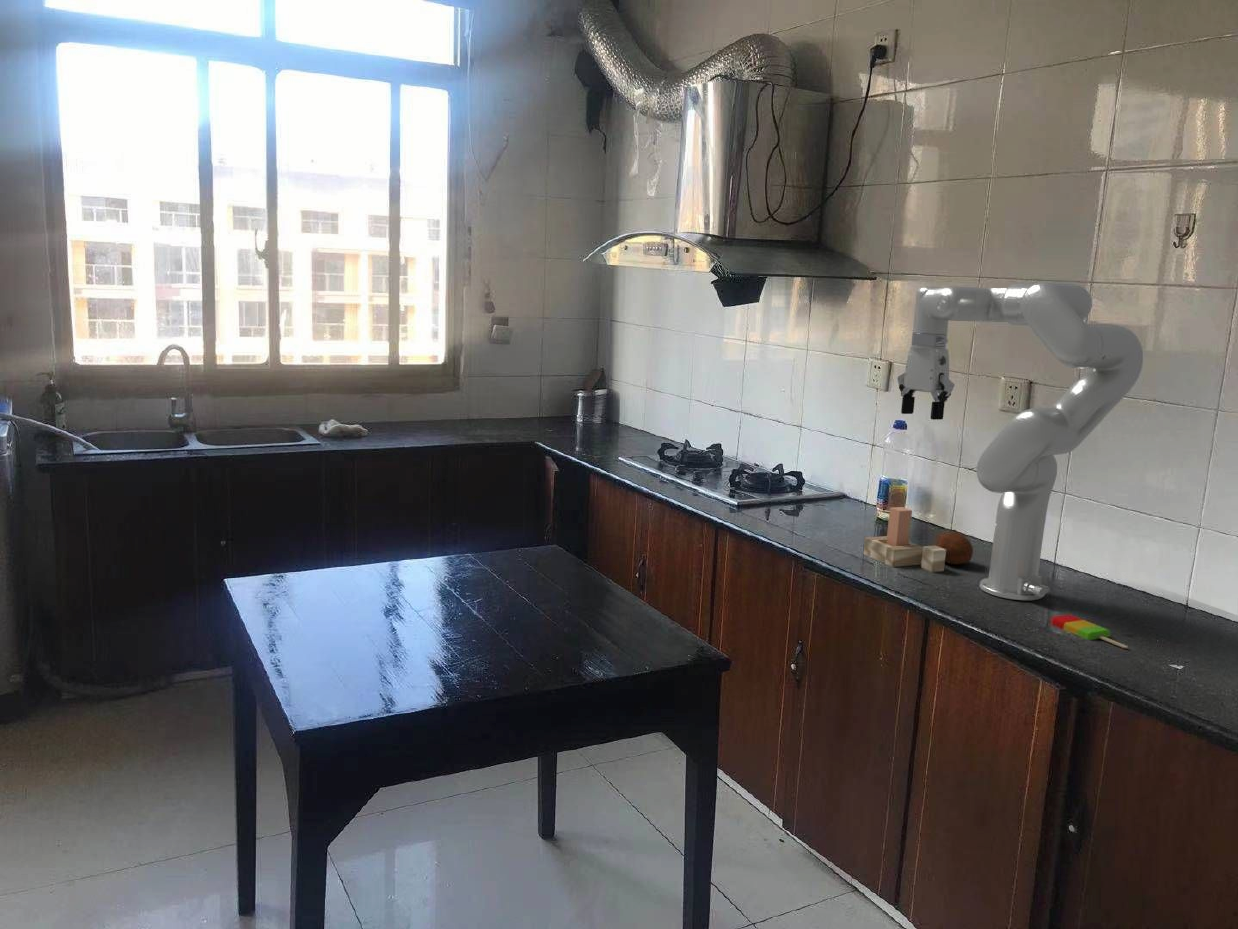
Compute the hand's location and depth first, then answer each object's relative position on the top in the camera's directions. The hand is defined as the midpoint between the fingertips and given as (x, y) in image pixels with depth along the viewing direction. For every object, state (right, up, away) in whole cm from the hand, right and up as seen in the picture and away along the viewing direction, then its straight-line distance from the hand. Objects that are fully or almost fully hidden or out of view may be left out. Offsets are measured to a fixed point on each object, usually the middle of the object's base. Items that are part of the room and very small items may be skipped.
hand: (921, 416), depth 224 cm
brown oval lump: (+8, -34, +2) cm, 35 cm away
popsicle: (+19, -44, -42) cm, 63 cm away
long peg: (-5, -33, +3) cm, 34 cm away
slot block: (-6, -33, +3) cm, 34 cm away
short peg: (+1, -35, -4) cm, 35 cm away
